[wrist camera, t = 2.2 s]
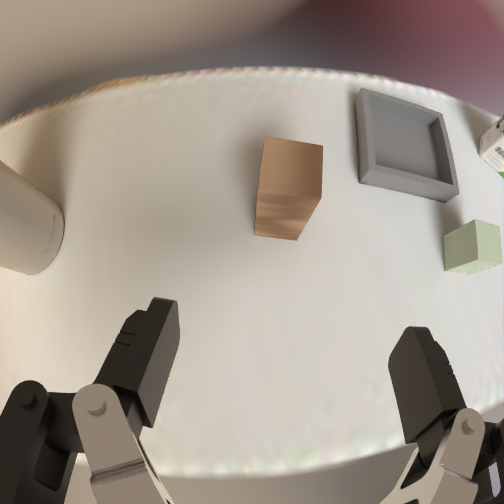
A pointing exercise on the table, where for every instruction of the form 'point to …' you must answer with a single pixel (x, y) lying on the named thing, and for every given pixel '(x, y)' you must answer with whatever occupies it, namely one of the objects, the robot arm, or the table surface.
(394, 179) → the desk tray
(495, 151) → the ink box
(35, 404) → the robot arm
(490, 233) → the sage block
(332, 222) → the table surface
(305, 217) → the walnut block
